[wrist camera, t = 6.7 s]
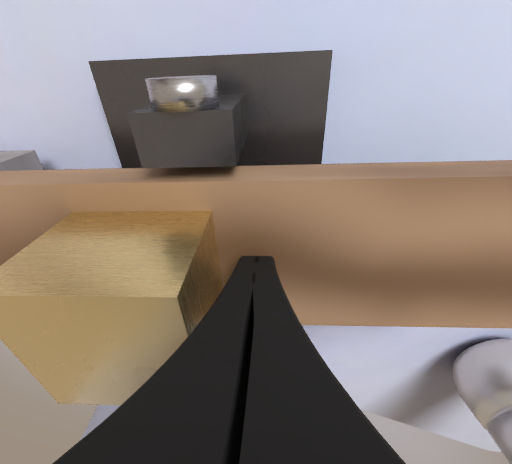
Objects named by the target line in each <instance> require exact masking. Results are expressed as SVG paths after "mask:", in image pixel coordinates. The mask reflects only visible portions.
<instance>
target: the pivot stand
mask: <svg viewBox="0 0 512 464" xmlns="http://www.w3.org/2000/svg"><path fill="white" fill-rule="evenodd" d="M331 60H332V50H324V51H302V52H281V53H259V54H238V55H216V56H195V57H174V58H152V59H131V60H109V61H89V65H90V68H91V71H92V74H93V77H94V80H95V83H96V87H97V90H98V93H99V96H100V99H101V102H102V105H103V108H104V112H105V115H106V118H107V121H108V124H109V127H110V130H111V134H112V137H113V140H114V143H115V146H116V149H117V152H118V155H119V159H120V162H121V165H122V168H181V167H229V166H260V165H309V164H321V161H322V151H323V141H324V131H325V121H326V111H327V101H328V90H329V80H330V70H331Z"/></svg>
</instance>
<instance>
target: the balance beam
mask: <svg viewBox="0 0 512 464" xmlns="http://www.w3.org/2000/svg"><path fill="white" fill-rule="evenodd" d="M109 211H212V214H213V221H214V228H215V235H216V242H217V249H218V256H219V263H220V270H221V277H222V284H223V288H224V286H225V285H226V283H227V281H228V280H229V278H230V276H231V274H232V273H233V271H234V269H235V267H236V265H237V263H238V261H239V258H241V257H242V256H272V257H273V258H274V261H275V266H276V270H277V273H278V276H279V279H280V281H281V284H282V287H283V289H284V291H285V293H286V296H287V298H288V300H289V302H290V304H291V306H292V308H293V310H294V312H295V314H296V316H297V318H298V320H299V322H300V323H301V325H341V326H403V327H465V328H512V160H502V161H454V162H405V163H357V164H309V165H260V166H229V167H181V168H115V169H67V170H44V169H43V167H42V165H41V163H40V161H39V159H38V157H37V155H36V152H35V150H29V151H0V266H1V265H2V264H4V263H5V262H6V261H8V260H9V259H10V258H12V257H13V256H14V255H16V254H17V253H18V252H20V251H21V250H22V249H24V248H25V247H27V246H28V245H29V244H31V243H32V242H33V241H35V240H36V239H37V238H39V237H40V236H41V235H43V234H44V233H45V232H47V231H48V230H49V229H51V228H52V227H53V226H55V225H56V224H57V223H59V222H60V221H62V220H63V219H64V218H66V217H67V216H68V215H70V214H71V213H72V212H109Z"/></svg>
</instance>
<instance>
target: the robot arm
mask: <svg viewBox="0 0 512 464" xmlns="http://www.w3.org/2000/svg"><path fill="white" fill-rule="evenodd" d="M53 464H406V463H405V462H404V461H403V460H402V459H401V458H400V457H399V455H398V454H397V453H396V452H395V451H394V450H393V448H392V447H391V446H390V445H389V444H388V443H387V441H386V440H385V439H384V438H383V437H382V436H381V435H380V433H379V432H378V431H377V430H376V428H375V427H374V426H373V425H372V424H371V422H370V421H369V420H368V419H367V417H366V416H365V415H364V414H363V413H362V411H361V410H360V409H359V408H358V406H357V405H356V404H355V402H354V401H353V400H352V398H351V397H350V396H349V394H348V393H347V392H346V390H345V389H344V388H343V386H342V385H341V384H340V383H339V381H338V380H337V379H336V377H335V376H334V375H333V373H332V372H331V370H330V369H329V368H328V366H327V365H326V363H325V362H324V360H323V359H322V357H321V356H320V354H319V353H318V351H317V350H316V348H315V347H314V345H313V343H312V342H311V340H310V339H309V337H308V335H307V334H306V332H305V330H304V329H303V327H302V325H301V323H300V322H299V320H298V318H297V316H296V314H295V312H294V310H293V308H292V306H291V304H290V302H289V300H288V298H287V296H286V293H285V291H284V289H283V287H282V284H281V281H280V279H279V276H278V273H277V270H276V266H275V261H274V258H273V257H272V256H242V257H241V258H239V261H238V263H237V265H236V267H235V269H234V271H233V273H232V274H231V276H230V278H229V280H228V281H227V283H226V285H225V286H224V288H223V289H222V291H221V293H220V294H219V296H218V297H217V299H216V300H215V302H214V303H213V305H212V306H211V307H210V309H209V310H208V311H207V313H206V314H205V316H204V317H203V318H202V320H201V321H200V322H199V324H198V325H197V326H196V327H195V329H194V330H193V331H192V332H191V334H190V335H189V336H188V337H187V338H186V340H185V341H184V342H183V343H182V344H181V345H180V347H179V348H178V349H177V350H176V351H175V352H174V353H173V354H172V355H171V356H170V357H169V358H168V360H167V361H166V362H165V363H164V364H163V365H162V366H161V367H160V368H159V369H158V370H157V371H156V372H155V373H154V374H153V375H152V376H151V377H150V378H149V379H148V380H147V381H146V382H145V383H144V384H143V385H142V386H141V387H140V388H139V389H138V390H137V391H136V392H134V393H133V394H132V395H131V396H130V397H129V398H128V399H127V400H126V401H125V402H124V403H123V404H122V405H121V406H115V405H98V406H97V408H96V410H95V412H94V414H93V416H92V418H91V420H90V422H89V424H88V426H87V428H86V430H85V432H84V434H83V436H82V438H81V440H80V441H79V442H78V443H77V444H76V445H74V446H73V447H72V448H71V449H70V450H68V451H67V452H66V453H65V454H64V455H62V456H61V457H60V458H59V459H58V460H57V461H55V462H54V463H53Z"/></svg>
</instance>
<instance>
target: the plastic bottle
mask: <svg viewBox="0 0 512 464" xmlns="http://www.w3.org/2000/svg"><path fill="white" fill-rule="evenodd" d="M452 375H453V379H454V382H455V384H456V387H457V389H458V392H459V394H460V397H461V398H462V399H463V401H464V402H465V403H466V405H467V406H468V408H469V409H470V410H471V412H472V413H473V414H474V416H475V417H476V418H477V420H478V421H479V422H480V423H481V425H482V426H483V427H484V428H485V429H486V430H488V432H489V434H490V435H491V437H492V438H493V439H494V441H495V442H496V444H497V445H498V447H499V448H500V450H501V451H502V453H503V454H504V455H505V457H506V458H507V460H508V461H509V463H510V464H512V339H494V340H489V341H485V342H481V343H478V344H476V345H474V346H471V347H469V348H468V349H466V350H464V351H463V352H462V353H460V354H459V355H458V356H457V358H456V359H455V361H454V364H453V374H452Z"/></svg>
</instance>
